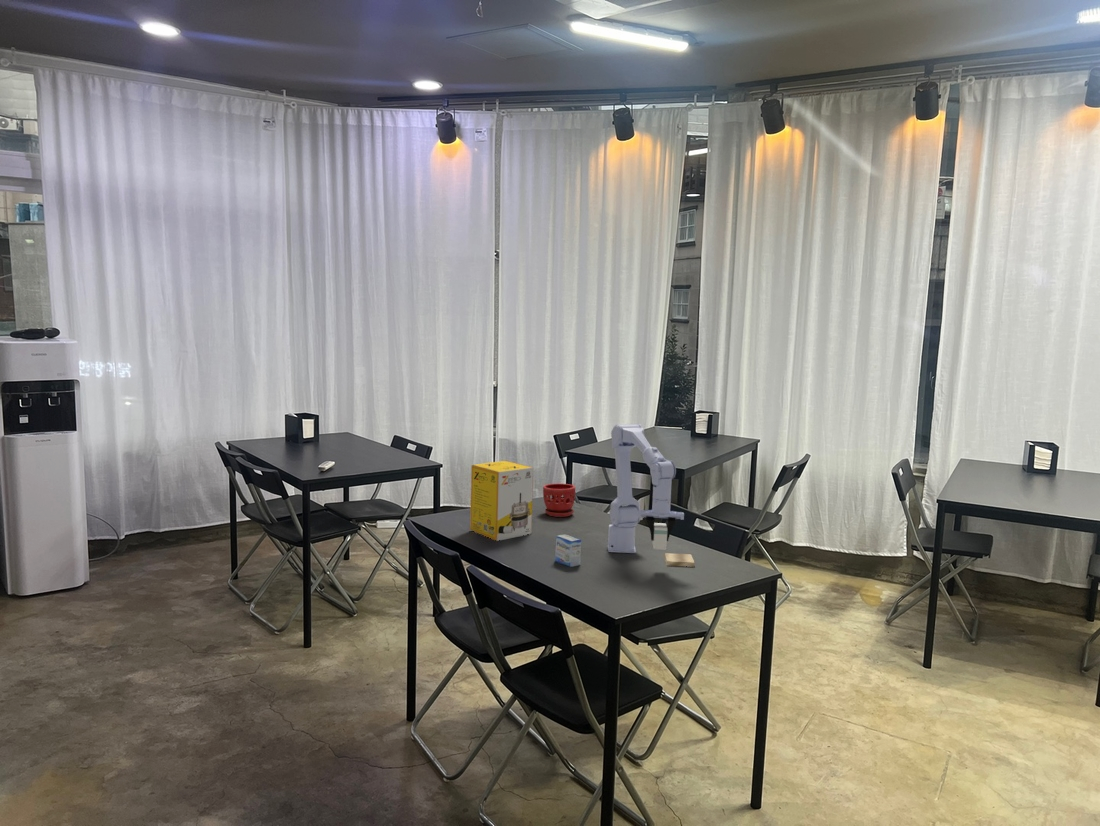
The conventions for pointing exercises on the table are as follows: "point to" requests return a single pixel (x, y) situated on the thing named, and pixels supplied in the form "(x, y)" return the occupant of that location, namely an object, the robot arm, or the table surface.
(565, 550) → the medicine box
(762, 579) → the table surface
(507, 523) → the packaging box
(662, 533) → the carton block
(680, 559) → the oak block
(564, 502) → the plant pot
